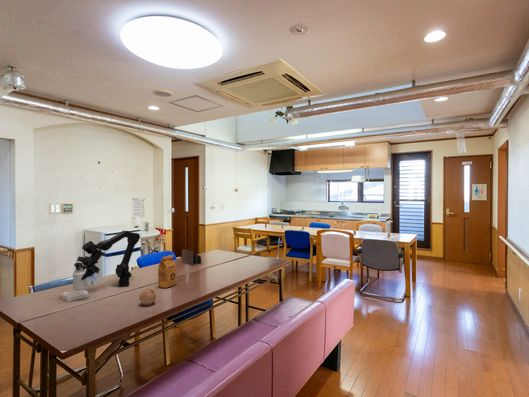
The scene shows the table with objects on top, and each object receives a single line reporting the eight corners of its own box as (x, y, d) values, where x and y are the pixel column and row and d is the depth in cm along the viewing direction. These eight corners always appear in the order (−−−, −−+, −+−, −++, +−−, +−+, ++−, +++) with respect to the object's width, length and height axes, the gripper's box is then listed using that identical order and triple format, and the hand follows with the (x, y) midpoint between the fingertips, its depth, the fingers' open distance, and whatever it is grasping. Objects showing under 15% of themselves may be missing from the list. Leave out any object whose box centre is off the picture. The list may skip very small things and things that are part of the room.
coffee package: (179, 284, 220) (178, 254, 220) (166, 289, 209) (166, 258, 209) (168, 283, 224) (168, 253, 224) (156, 287, 213) (155, 256, 213)
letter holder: (192, 266, 278) (192, 251, 278) (181, 263, 292) (181, 248, 292) (201, 264, 285) (201, 249, 285) (190, 261, 299) (190, 247, 299)
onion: (154, 307, 183) (161, 292, 184) (145, 309, 174) (153, 292, 176) (142, 300, 186) (150, 285, 187) (132, 301, 177) (141, 285, 178)
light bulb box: (88, 286, 218) (88, 271, 218) (80, 285, 219) (80, 270, 219) (99, 281, 228) (99, 267, 228) (91, 281, 230) (91, 267, 230)
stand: (82, 292, 202) (82, 288, 202) (89, 296, 195) (89, 292, 195) (61, 297, 193) (61, 292, 193) (68, 301, 185) (68, 296, 185)
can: (80, 286, 194) (80, 268, 194) (89, 287, 192) (89, 269, 192) (70, 290, 187) (69, 271, 187) (79, 291, 185) (79, 272, 184)
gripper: (76, 250, 197) (59, 270, 187) (94, 252, 188) (77, 274, 179) (88, 259, 204) (72, 279, 194) (106, 262, 196) (90, 283, 186)
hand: (77, 279), depth 188 cm, fingers closed on can, 7 cm apart
